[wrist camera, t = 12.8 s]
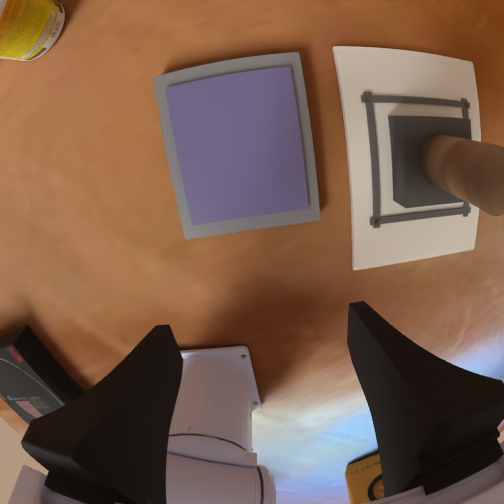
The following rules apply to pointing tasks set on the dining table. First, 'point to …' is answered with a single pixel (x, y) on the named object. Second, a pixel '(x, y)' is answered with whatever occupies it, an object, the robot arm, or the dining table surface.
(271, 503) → the robot arm
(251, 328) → the dining table surface
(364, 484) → the coffee package
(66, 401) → the portable cd player
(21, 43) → the supplement bottle
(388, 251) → the marked board
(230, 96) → the ink pad
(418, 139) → the stamp
